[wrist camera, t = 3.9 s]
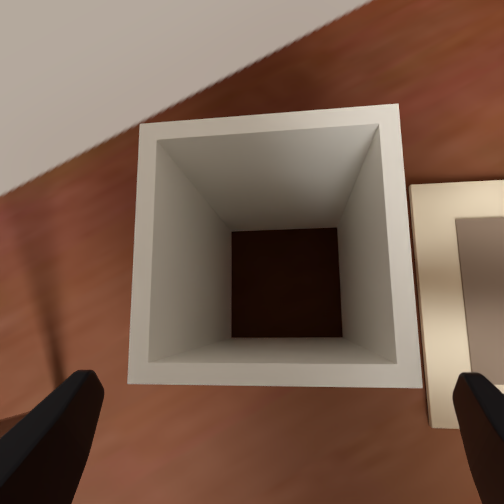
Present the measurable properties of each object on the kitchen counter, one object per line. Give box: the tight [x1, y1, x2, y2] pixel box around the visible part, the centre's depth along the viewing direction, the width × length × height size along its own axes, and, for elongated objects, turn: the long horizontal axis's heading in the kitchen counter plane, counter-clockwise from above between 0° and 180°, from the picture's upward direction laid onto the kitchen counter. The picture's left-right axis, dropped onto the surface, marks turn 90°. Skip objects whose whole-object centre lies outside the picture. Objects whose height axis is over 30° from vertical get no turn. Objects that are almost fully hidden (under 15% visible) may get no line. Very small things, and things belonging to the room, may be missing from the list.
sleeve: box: [127, 104, 423, 388], centre depth 14 cm, size 7×7×11 cm
